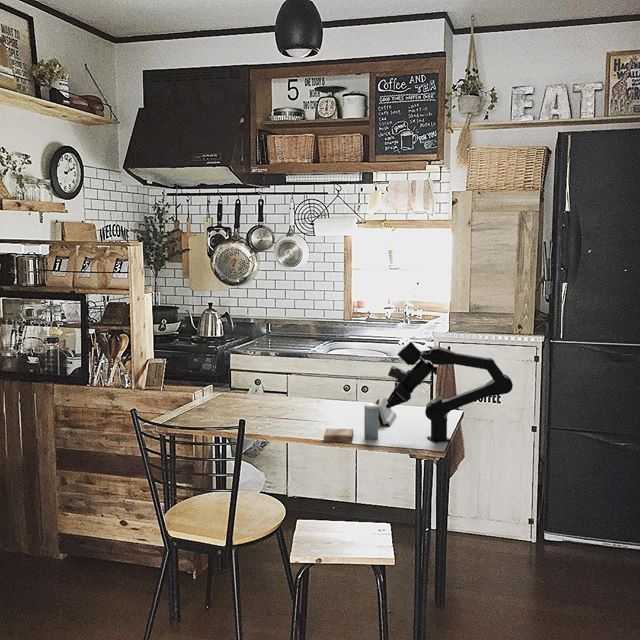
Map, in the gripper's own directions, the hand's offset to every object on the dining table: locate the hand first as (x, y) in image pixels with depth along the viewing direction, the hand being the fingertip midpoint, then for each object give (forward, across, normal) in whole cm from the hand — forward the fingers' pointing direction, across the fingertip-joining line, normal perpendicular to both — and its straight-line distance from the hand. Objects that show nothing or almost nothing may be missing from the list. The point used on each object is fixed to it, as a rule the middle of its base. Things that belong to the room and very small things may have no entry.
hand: (387, 404), depth 278 cm
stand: (+21, +2, -4) cm, 21 cm away
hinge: (+11, -25, +7) cm, 28 cm away
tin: (+13, 0, +4) cm, 14 cm away
